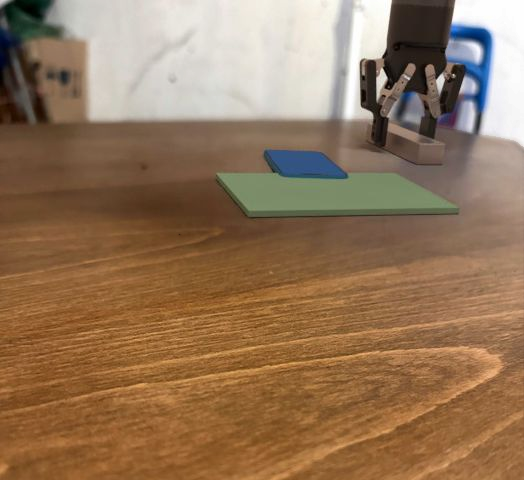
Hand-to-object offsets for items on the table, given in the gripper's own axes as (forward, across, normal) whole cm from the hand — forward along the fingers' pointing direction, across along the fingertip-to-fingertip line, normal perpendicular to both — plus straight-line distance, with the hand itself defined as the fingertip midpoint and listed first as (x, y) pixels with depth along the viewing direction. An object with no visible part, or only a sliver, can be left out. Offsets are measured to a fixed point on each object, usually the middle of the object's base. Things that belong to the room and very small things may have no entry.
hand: (401, 145), depth 88 cm
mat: (+1, -18, -22) cm, 28 cm away
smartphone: (+1, -17, -10) cm, 20 cm away
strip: (+1, 0, 0) cm, 1 cm away
